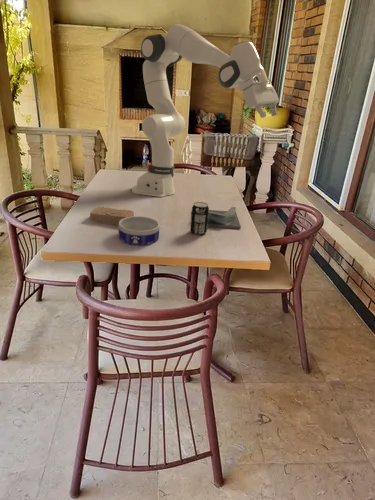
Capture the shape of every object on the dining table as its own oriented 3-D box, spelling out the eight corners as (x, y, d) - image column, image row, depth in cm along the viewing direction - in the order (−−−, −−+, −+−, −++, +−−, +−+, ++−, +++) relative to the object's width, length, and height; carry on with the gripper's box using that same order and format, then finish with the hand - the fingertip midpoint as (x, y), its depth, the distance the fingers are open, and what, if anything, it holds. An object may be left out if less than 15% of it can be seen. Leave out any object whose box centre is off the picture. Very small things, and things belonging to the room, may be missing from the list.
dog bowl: (160, 231, 152) (161, 217, 149) (157, 247, 138) (157, 232, 135) (122, 228, 151) (122, 214, 149) (115, 244, 138) (115, 229, 135)
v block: (192, 211, 175) (193, 200, 173) (235, 214, 176) (236, 203, 173) (193, 226, 159) (194, 214, 156) (240, 229, 159) (242, 217, 157)
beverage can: (198, 228, 157) (200, 200, 152) (209, 233, 153) (212, 205, 148) (186, 231, 153) (189, 203, 148) (198, 237, 149) (201, 208, 144)
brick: (89, 222, 155) (88, 211, 153) (97, 215, 163) (96, 205, 161) (127, 227, 153) (127, 217, 151) (134, 220, 161) (134, 210, 159)
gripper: (262, 86, 158) (274, 118, 159) (236, 87, 143) (250, 122, 144) (275, 78, 153) (287, 110, 154) (250, 78, 139) (264, 114, 140)
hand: (269, 116), depth 149 cm, fingers open, 8 cm apart
